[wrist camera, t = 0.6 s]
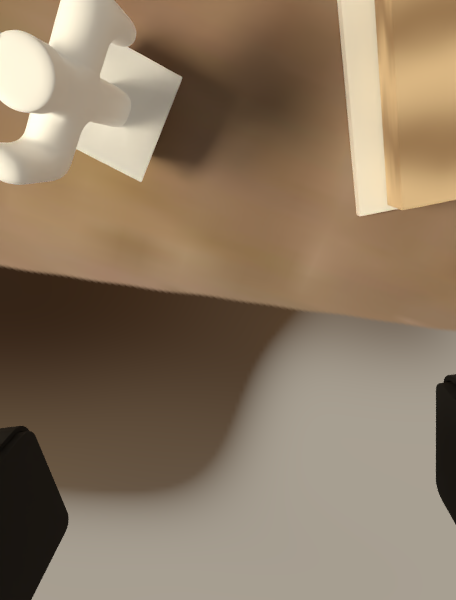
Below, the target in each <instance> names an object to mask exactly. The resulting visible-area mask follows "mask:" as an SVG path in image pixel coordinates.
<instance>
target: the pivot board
mask: <svg viewBox="0 0 456 600" xmlns="http://www.w3.org/2000/svg"><path fill="white" fill-rule="evenodd" d="M337 5H338V16H339V27H340V38H341V48H342V59H343V70H344V81H345V92H346V103H347V114H348V125H349V136H350V147H351V158H352V169H353V180H354V191H355V201H356V212H357V215H359V216H364V215H369V214H374V213H379V212H385V211H390V210H395V209H398V208H395V207H392V206H389V205H387V190H386V174H385V158H384V143H383V127H382V111H381V95H380V80H379V64H378V48H377V33H376V17H375V1H374V0H337Z"/></svg>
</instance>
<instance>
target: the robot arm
mask: <svg viewBox="0 0 456 600" xmlns="http://www.w3.org/2000/svg"><path fill="white" fill-rule="evenodd" d="M436 484H437V488H438V492H439V495H440V497H441V499H442V501H443V503H444V504H445V506H446V508H447V510H448V511H449V513H450V515H451V517H452V519H453V520H454V522H455V524H456V374H455V375H448V376H446V377H445V379H444V383H439V384H438V385H437V387H436ZM67 526H68V513H67V510H66V508H65V506H64V503H63V501H62V498H61V496H60V494H59V491H58V489H57V486H56V484H55V482H54V479H53V477H52V475H51V472H50V470H49V467H48V465H47V463H46V460H45V458H44V455H43V453H42V451H41V448H40V446H39V444H38V441H37V439H36V437H35V435H34V433H33V432H30V431H29V430H28V429H27V428H26V427H24V426H16V427H8V428H1V429H0V600H31V599H32V597H33V595H34V593H35V591H36V589H37V587H38V585H39V583H40V581H41V579H42V577H43V575H44V573H45V571H46V569H47V567H48V565H49V563H50V561H51V559H52V557H53V555H54V553H55V551H56V549H57V547H58V546H59V544H60V542H61V539H62V537H63V536H64V534H65V532H66V529H67Z"/></svg>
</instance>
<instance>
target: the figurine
mask: <svg viewBox="0 0 456 600" xmlns="http://www.w3.org/2000/svg"><path fill="white" fill-rule="evenodd" d="M135 39H136V29H135V26H134V24H133V22H132V21H131V19H130V18H129V17H128V16H127V14H126V13H125V12H124V11H123V10H122V9H121V7H120V6H119V5H118V4H117V3H116V2H115V1H114V0H61V1H60V5H59V9H58V12H57V16H56V20H55V23H54V27H53V31H52V34H51V38H50V42H49V45H48V44H47V43H45V42H44V41H42V40H40V39H38V38H36V37H35V36H33V35H31V34H29V33H27V32H24V31H20V30H9V31H5V32H3V33H1V32H0V100H1V101H2V102H3V103H4V104H5V105H7V106H8V107H10V108H12V109H14V110H16V111H20V112H26V113H30V115H29V119H28V123H27V127H26V130H25V133H24V134H23V136H22V137H21V138H20V139H18V140H17V141H14V142H11V143H2V142H0V180H1V181H3V182H6V183H9V184H16V185H20V184H31V183H40V182H48V181H54V180H57V179H60V178H61V177H63V176H64V175H65V174H66V173H67V172H68V170H69V168H70V166H71V163H72V160H73V157H74V153H75V150H76V149H77V150H79V151H81V152H83V153H85V154H87V155H89V156H91V157H93V158H95V159H97V160H99V161H101V162H103V163H105V164H107V165H109V166H111V167H113V168H114V169H116V170H118V171H120V172H122V173H124V174H126V175H128V176H130V177H132V178H134V179H136V180H138V181H140V182H142V179H143V177H144V174H145V171H146V169H147V166H148V164H149V161H150V159H151V156H152V154H153V151H154V149H155V146H156V144H157V141H158V139H159V136H160V134H161V131H162V128H163V126H164V123H165V121H166V118H167V116H168V113H169V111H170V108H171V106H172V103H173V101H174V98H175V96H176V93H177V91H178V88H179V85H180V83H181V80H182V78H183V77H181V76H179V75H178V74H176V73H174V72H172V71H170V70H168V69H167V68H165V67H163V66H161V65H159V64H158V63H156V62H154V61H152V60H150V59H149V58H147V57H145V56H143V55H141V54H140V53H138V52H136V51H134V50H132V49H131V48H129V47H127V46H130V45H131V44H133V42H134V41H135Z"/></svg>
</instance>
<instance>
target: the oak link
mask: <svg viewBox="0 0 456 600" xmlns="http://www.w3.org/2000/svg"><path fill="white" fill-rule="evenodd" d="M374 1H375V17H376V33H377V48H378V64H379V80H380V95H381V111H382V127H383V143H384V158H385V174H386V190H387V205H389V206H392V207H395V208H398V209H401V210H406V209H411V208H416V207H421V206H426V205H431V204H436V203H441V202H446V201H452V200H456V0H374Z"/></svg>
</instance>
